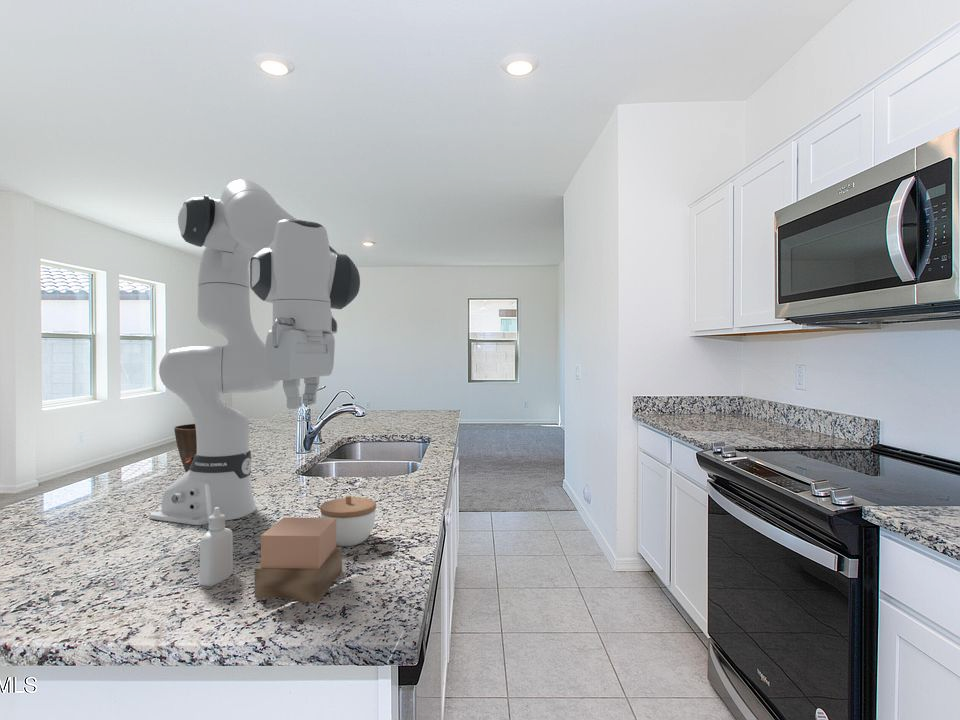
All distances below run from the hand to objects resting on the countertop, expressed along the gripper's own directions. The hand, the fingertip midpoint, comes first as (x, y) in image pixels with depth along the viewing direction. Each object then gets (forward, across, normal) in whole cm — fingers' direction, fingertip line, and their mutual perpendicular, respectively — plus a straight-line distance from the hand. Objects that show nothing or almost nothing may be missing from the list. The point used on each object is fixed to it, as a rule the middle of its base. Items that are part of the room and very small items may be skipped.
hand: (302, 406), depth 85 cm
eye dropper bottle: (+29, +2, +15) cm, 33 cm away
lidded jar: (+29, +20, -2) cm, 35 cm away
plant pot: (+29, +70, +57) cm, 95 cm away
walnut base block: (+29, 0, 0) cm, 29 cm away
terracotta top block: (+24, 0, 0) cm, 24 cm away
